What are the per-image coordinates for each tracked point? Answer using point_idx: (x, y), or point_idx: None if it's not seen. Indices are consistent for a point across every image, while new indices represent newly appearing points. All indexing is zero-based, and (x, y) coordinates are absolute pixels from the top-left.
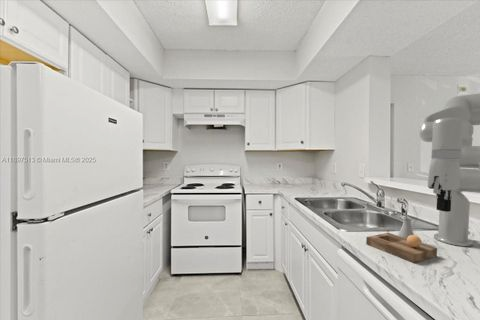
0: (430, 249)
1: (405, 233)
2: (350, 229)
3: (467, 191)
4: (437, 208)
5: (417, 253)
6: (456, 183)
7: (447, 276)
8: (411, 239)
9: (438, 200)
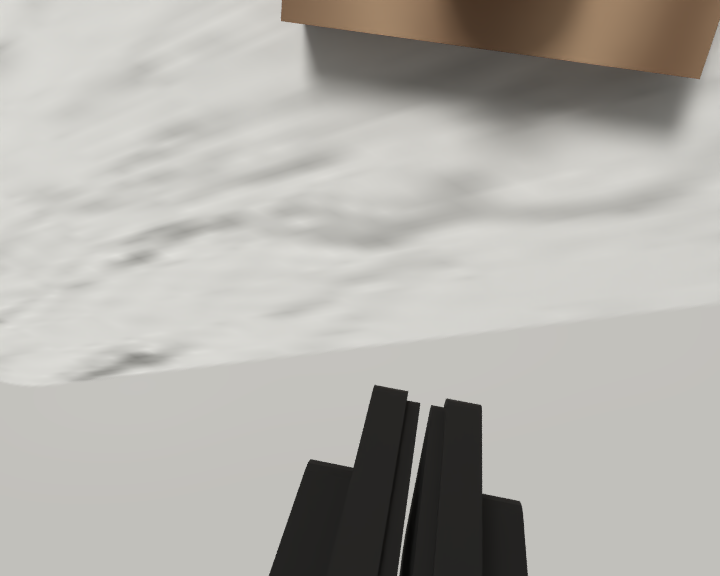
0: (586, 53)
1: None
2: None
3: None
4: (369, 409)
5: (340, 24)
6: None
7: (292, 236)
8: None
9: (333, 574)
